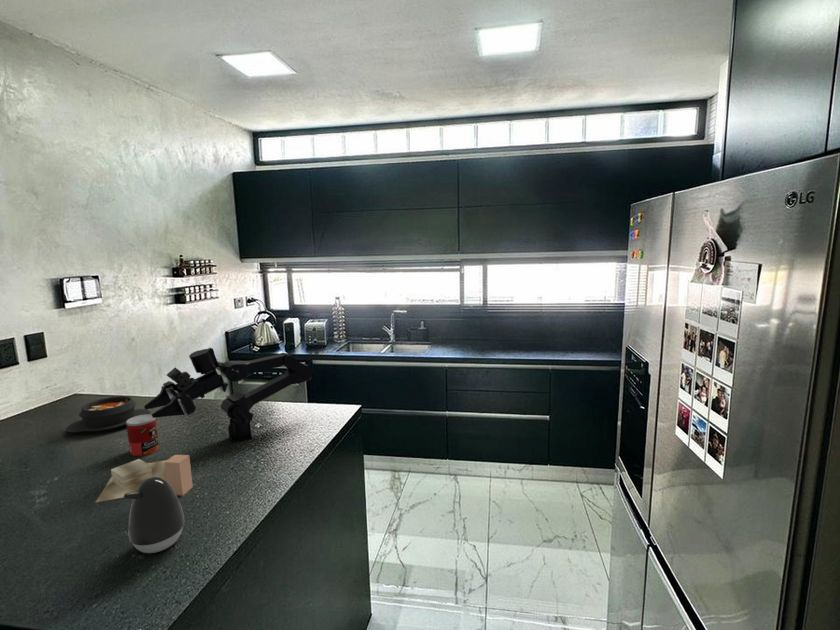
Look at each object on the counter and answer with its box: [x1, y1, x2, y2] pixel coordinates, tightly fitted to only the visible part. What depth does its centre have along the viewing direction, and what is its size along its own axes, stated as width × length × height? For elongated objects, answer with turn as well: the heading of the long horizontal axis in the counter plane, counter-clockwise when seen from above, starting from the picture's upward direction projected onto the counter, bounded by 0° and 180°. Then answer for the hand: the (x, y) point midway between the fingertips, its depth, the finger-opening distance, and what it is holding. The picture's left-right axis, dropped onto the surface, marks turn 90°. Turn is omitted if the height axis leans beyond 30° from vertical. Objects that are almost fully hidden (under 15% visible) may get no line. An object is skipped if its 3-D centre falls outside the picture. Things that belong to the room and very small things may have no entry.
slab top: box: [110, 458, 152, 483], centre depth 119 cm, size 7×7×2 cm
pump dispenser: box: [123, 477, 185, 554], centre depth 92 cm, size 10×10×15 cm
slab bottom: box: [111, 472, 152, 489], centre depth 119 cm, size 7×7×2 cm
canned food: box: [125, 413, 160, 457], centre depth 135 cm, size 8×8×11 cm
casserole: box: [65, 395, 151, 434], centre depth 158 cm, size 25×19×8 cm
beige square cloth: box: [95, 459, 168, 503], centre depth 120 cm, size 18×18×1 cm
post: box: [164, 454, 194, 498], centre depth 112 cm, size 4×4×10 cm
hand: (148, 411), depth 126 cm, fingers open, 9 cm apart
